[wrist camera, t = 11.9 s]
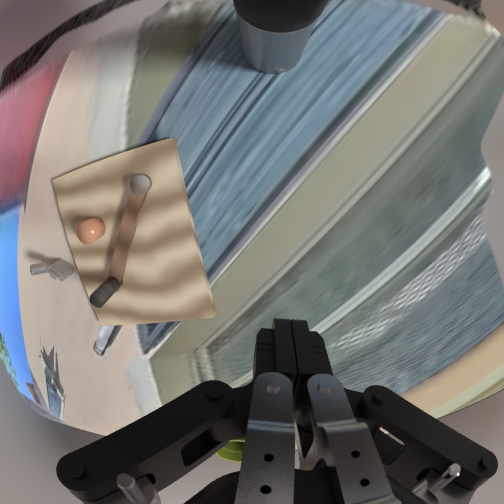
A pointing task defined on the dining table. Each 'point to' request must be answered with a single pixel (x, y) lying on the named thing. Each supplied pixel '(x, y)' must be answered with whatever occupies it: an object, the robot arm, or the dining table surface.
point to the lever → (123, 240)
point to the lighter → (53, 269)
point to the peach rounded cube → (90, 230)
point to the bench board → (138, 237)
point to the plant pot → (232, 450)
